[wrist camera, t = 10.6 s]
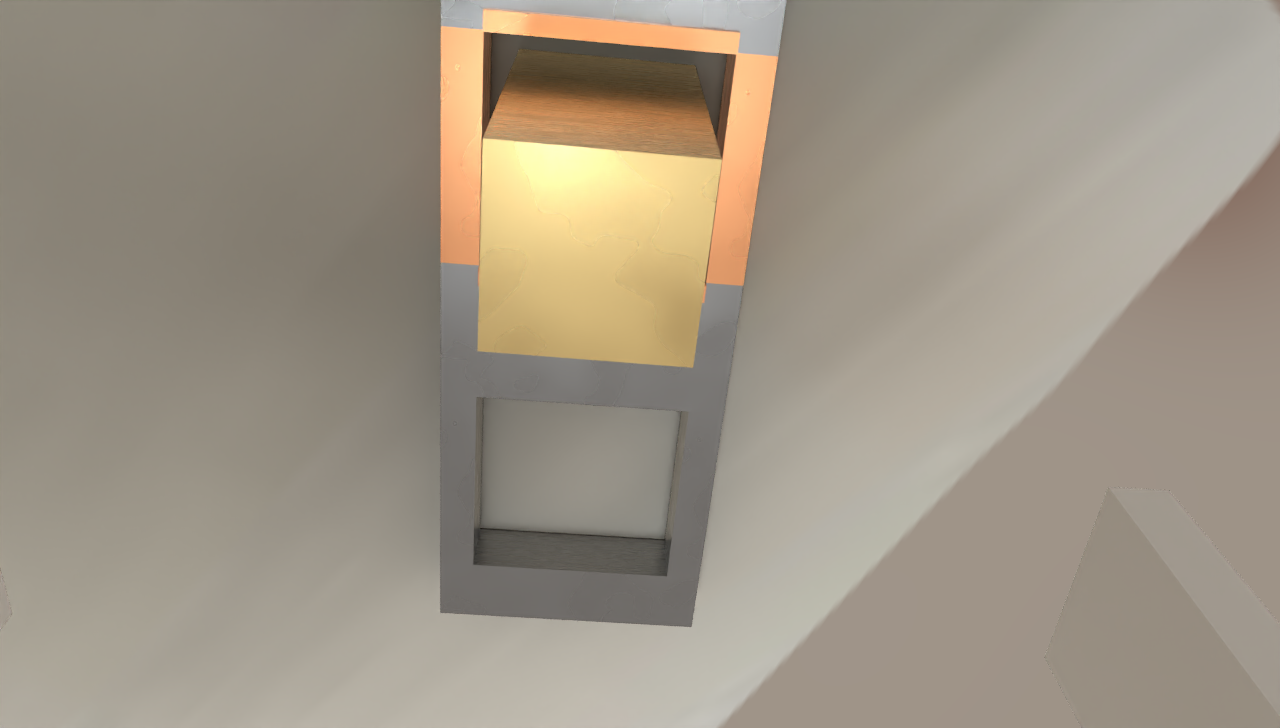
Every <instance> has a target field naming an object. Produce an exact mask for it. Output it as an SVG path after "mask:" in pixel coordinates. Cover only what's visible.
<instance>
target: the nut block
mask: <svg viewBox="0 0 1280 728" xmlns="http://www.w3.org/2000/svg"><path fill="white" fill-rule="evenodd" d="M721 163H722V158H721V155H720V151H719V148H718V144H717V141H716V137H715V134H714V130H713V127H712V123H711V120H710V116H709V113H708V109H707V106H706V103H705V99H704V96H703V92H702V89H701V85H700V82H699V78H698V75H697V71H696V68H695V65H685V64H674V63H664V62H653V61H643V60H632V59H622V58H611V57H600V56H590V55H579V54H569V53H558V52H548V51H537V50H527V49H519V51H518V54H517V56H516V58H515V61H514V63H513V66H512V68H511V71H510V73H509V76H508V78H507V80H506V83H505V85H504V88H503V90H502V93H501V95H500V97H499V100H498V102H497V105H496V107H495V110H494V112H493V115H492V117H491V119H490V122H489V124H488V127H487V129H486V132H485V134H484V137H483V149H482V189H481V230H480V270H479V310H478V351H481V352H494V353H507V354H520V355H533V356H546V357H559V358H572V359H585V360H598V361H611V362H624V363H637V364H650V365H663V366H676V367H689V368H693V365H694V358H695V351H696V344H697V336H698V329H699V322H700V315H701V308H702V300H703V293H704V286H705V279H706V271H707V264H708V257H709V250H710V242H711V235H712V228H713V221H714V213H715V206H716V199H717V192H718V184H719V177H720V170H721Z"/></svg>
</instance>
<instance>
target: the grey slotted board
mask: <svg viewBox="0 0 1280 728" xmlns="http://www.w3.org/2000/svg"><path fill="white" fill-rule="evenodd" d="M786 1H787V0H441V533H440V613H455V614H473V615H491V616H508V617H526V618H543V619H561V620H578V621H596V622H614V623H631V624H649V625H666V626H684V627H691V626H692V620H693V613H694V606H695V600H696V593H697V587H698V580H699V574H700V567H701V560H702V554H703V547H704V541H705V534H706V528H707V521H708V514H709V508H710V501H711V495H712V488H713V481H714V475H715V468H716V462H717V455H718V449H719V442H720V435H721V429H722V422H723V416H724V409H725V403H726V396H727V389H728V383H729V376H730V370H731V363H732V357H733V350H734V343H735V337H736V330H737V324H738V317H739V310H740V304H741V297H742V291H743V284H744V278H745V271H746V264H747V258H748V251H749V245H750V238H751V232H752V225H753V218H754V212H755V205H756V199H757V192H758V186H759V179H760V172H761V166H762V159H763V153H764V146H765V139H766V133H767V126H768V120H769V113H770V107H771V100H772V93H773V87H774V80H775V74H776V67H777V61H778V54H779V47H780V41H781V34H782V28H783V21H784V15H785V8H786ZM492 32H494V33H505V34H516V35H527V36H538V37H549V38H560V39H571V40H582V41H593V42H604V43H615V44H626V45H637V46H648V47H659V48H670V49H681V50H692V51H703V52H714V53H725V54H727V61H726V69H725V77H724V84H723V92H722V100H721V108H720V115H719V123H718V131H717V139H716V141H717V144H718V148H719V151H720V155H721V158H722V163H721V170H720V177H719V184H718V192H717V199H716V206H715V213H714V221H713V228H712V235H711V242H710V250H709V257H708V264H707V271H706V279H705V286H704V293H703V300H702V308H701V315H700V322H699V329H698V336H697V344H696V351H695V358H694V365H693V368H689V367H676V366H663V365H650V364H637V363H624V362H611V361H598V360H585V359H572V358H559V357H546V356H533V355H520V354H507V353H494V352H481V351H478V310H479V270H480V230H481V189H482V149H483V137H484V134H485V132H486V129H487V127H488V124H489V122H490V79H491V36H492ZM483 397H485V398H499V399H513V400H528V401H542V402H556V403H571V404H585V405H600V406H614V407H628V408H643V409H657V410H672V411H681V417H680V425H679V433H678V440H677V448H676V456H675V464H674V471H673V479H672V487H671V495H670V502H669V510H668V518H667V526H666V533H665V540H651V539H635V538H618V537H602V536H586V535H570V534H554V533H538V532H522V531H505V530H489V529H480V510H481V467H482V424H483Z"/></svg>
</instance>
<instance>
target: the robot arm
mask: <svg viewBox="0 0 1280 728" xmlns="http://www.w3.org/2000/svg"><path fill="white" fill-rule="evenodd" d="M11 615H12V611H11V607H10V603H9V599H8V595H7V592H6V588H5V584H4V580H3V576H2V572H1V568H0V630H1V629H2V627H3V626H4V625H5V623H6V622H7V620H8V619H9V618H10V616H11ZM1045 659H1046V661H1047V663H1048V665H1049V667H1050V669H1051V671H1052V673H1053V675H1054V677H1055V679H1056V680H1057V682H1058V684H1059V686H1060V688H1061V690H1062V692H1063V694H1064V696H1065V698H1066V700H1067V701H1068V703H1069V705H1070V707H1071V709H1072V711H1073V713H1074V715H1075V717H1076V719H1077V721H1078V723H1079V724H1080V726H1081V728H1280V623H1279V622H1278V621H1277V620H1276V618H1275V617H1274V616H1273V615H1272V613H1271V612H1270V611H1269V610H1268V609H1267V607H1266V606H1265V605H1264V604H1263V603H1262V601H1261V600H1260V599H1259V598H1258V596H1257V595H1256V594H1255V593H1254V592H1253V590H1252V589H1251V588H1250V587H1249V586H1248V584H1247V583H1246V582H1245V581H1244V580H1243V578H1242V577H1241V576H1240V575H1239V574H1238V572H1237V571H1236V570H1235V569H1234V568H1233V566H1232V565H1231V564H1230V563H1229V562H1228V560H1227V559H1226V558H1225V557H1224V556H1223V554H1222V553H1221V552H1220V551H1219V550H1218V548H1217V547H1216V546H1215V545H1214V543H1213V542H1212V541H1211V540H1210V539H1209V537H1208V536H1207V535H1206V534H1205V533H1204V531H1203V530H1202V529H1201V528H1200V527H1199V525H1198V524H1197V523H1196V522H1195V521H1194V520H1193V518H1192V517H1191V516H1190V515H1189V514H1188V512H1187V511H1186V510H1185V509H1184V507H1183V506H1182V505H1181V504H1180V503H1179V501H1178V500H1177V499H1176V498H1175V497H1174V496H1173V494H1172V493H1171V492H1170V490H1151V489H1133V488H1116V487H1108V489H1107V492H1106V495H1105V497H1104V500H1103V503H1102V506H1101V508H1100V511H1099V513H1098V516H1097V519H1096V521H1095V524H1094V527H1093V529H1092V532H1091V535H1090V537H1089V540H1088V543H1087V545H1086V548H1085V551H1084V553H1083V556H1082V559H1081V562H1080V564H1079V567H1078V569H1077V572H1076V575H1075V577H1074V580H1073V583H1072V585H1071V588H1070V591H1069V593H1068V596H1067V599H1066V601H1065V604H1064V607H1063V609H1062V612H1061V615H1060V617H1059V620H1058V623H1057V626H1056V628H1055V631H1054V633H1053V636H1052V639H1051V641H1050V644H1049V647H1048V649H1047V652H1046V655H1045Z"/></svg>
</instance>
